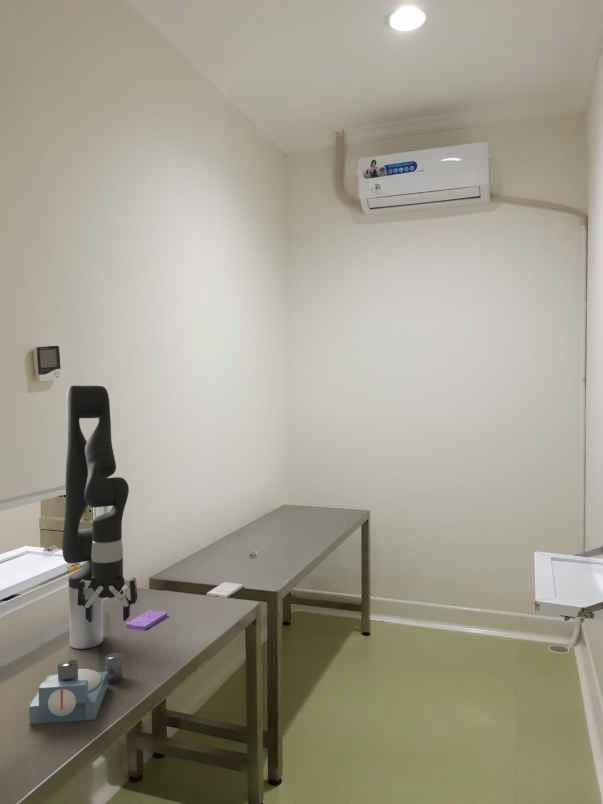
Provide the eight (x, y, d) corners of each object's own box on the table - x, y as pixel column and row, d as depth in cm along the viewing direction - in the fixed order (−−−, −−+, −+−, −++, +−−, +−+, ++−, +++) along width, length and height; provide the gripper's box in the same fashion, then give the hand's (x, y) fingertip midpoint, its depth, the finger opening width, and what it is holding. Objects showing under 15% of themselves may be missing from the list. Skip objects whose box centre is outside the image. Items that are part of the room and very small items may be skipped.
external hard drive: (243, 588, 231) (226, 599, 219) (223, 586, 234) (206, 596, 222) (243, 584, 230) (226, 594, 219) (223, 581, 234) (206, 592, 222)
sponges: (125, 629, 193) (125, 623, 193) (149, 614, 205) (149, 609, 205) (144, 632, 190) (144, 626, 190) (167, 617, 202) (167, 611, 202)
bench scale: (49, 689, 154) (49, 657, 154) (108, 685, 156) (107, 653, 155) (29, 725, 138) (28, 689, 137) (94, 720, 139) (94, 685, 139)
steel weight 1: (60, 685, 146) (60, 660, 146) (80, 684, 147) (79, 659, 146) (55, 694, 142) (55, 668, 142) (75, 693, 142) (75, 667, 142)
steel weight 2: (107, 676, 161) (106, 653, 160) (124, 675, 161) (124, 652, 161) (103, 684, 156) (103, 660, 156) (121, 683, 157) (121, 659, 157)
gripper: (138, 552, 161) (139, 613, 162) (81, 553, 160) (82, 615, 160) (133, 560, 153) (134, 625, 154) (74, 562, 152) (75, 627, 153)
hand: (108, 620), depth 157 cm, fingers open, 8 cm apart
